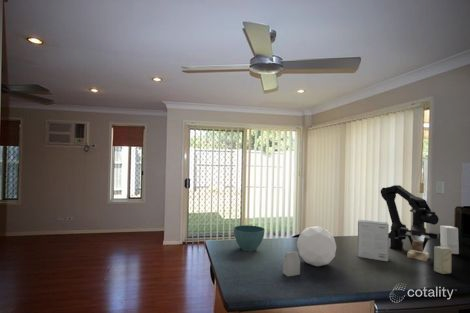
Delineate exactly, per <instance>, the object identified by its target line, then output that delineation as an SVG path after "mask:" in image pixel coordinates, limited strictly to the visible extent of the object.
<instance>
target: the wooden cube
mask: <svg viewBox="0 0 470 313" xmlns="http://www.w3.org/2000/svg"><path fill="white" fill-rule="evenodd" d="M423 244H424V240H420V239H419V240H418V239H413V241H412V245H411V250H415V251H420V252H425V251H424V250H425V248H424V249H423Z"/></svg>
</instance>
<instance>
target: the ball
mask: <svg viewBox="0 0 470 313" xmlns="http://www.w3.org/2000/svg"><path fill="white" fill-rule="evenodd" d="M296 247H297V252H298V255H299V257H301V258H302V260H304V262H305V263H306V264H309V265H312V266H314V267H321V266H326V265H328V264H330V263H331V262H332V260H333V259H334V258H335V257H336V250H337V243H336V240H335V236H334V235H333V234H332V233H331V232H329V230H327V229H326V228H323V227H321V226H317V225H314V226H309V227H305V228H304V229H303V231H302V232H301V233H299V236H298V239H297V242H296Z"/></svg>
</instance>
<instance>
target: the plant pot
mask: <svg viewBox="0 0 470 313" xmlns="http://www.w3.org/2000/svg"><path fill="white" fill-rule="evenodd" d="M233 235H234V239H235V242H236V244H237V246H238V247H239V248H240V249H241V250H242V251H243V252H254V251H257V249H258V248H259V247H260V245H261V243H262V242H263V240H264V236H265V228H264V227H262V226H257V225H249V224H248V225H247V224H245V225H244V224H243V225H236V226H234V227H233Z"/></svg>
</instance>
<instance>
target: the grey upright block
mask: <svg viewBox="0 0 470 313" xmlns="http://www.w3.org/2000/svg"><path fill="white" fill-rule="evenodd" d="M282 261H283V262H282V274H283V275H285V276H286V277H294V276H298V275H301V259H300V254H299V251H298V250H296V251H290V252H285V254H284V258H283V260H282Z"/></svg>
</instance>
